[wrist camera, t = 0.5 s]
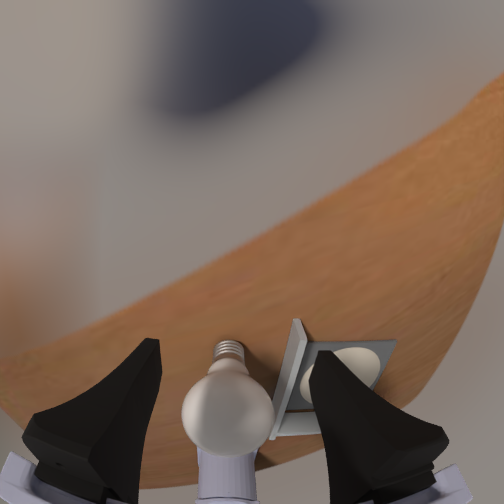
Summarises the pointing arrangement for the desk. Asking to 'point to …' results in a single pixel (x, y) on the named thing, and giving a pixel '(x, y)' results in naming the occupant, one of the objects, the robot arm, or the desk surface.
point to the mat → (352, 355)
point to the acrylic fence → (291, 421)
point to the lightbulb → (228, 406)
